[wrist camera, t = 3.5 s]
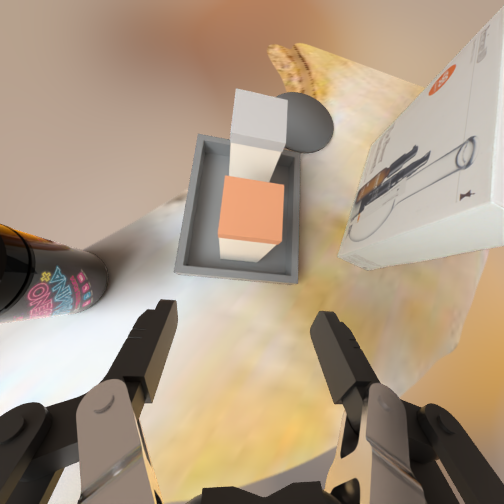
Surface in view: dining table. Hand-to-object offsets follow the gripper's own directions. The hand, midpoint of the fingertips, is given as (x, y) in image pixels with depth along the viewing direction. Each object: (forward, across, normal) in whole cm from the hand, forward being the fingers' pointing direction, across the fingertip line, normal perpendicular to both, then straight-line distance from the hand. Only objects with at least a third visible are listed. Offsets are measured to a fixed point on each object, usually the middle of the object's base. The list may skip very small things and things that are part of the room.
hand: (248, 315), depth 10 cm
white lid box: (+19, 0, -3) cm, 20 cm away
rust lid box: (+13, 0, +3) cm, 14 cm away
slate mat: (+28, -8, -12) cm, 32 cm away
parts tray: (+17, 0, 0) cm, 17 cm away
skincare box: (+20, -19, -3) cm, 28 cm away
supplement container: (+9, +17, +8) cm, 21 cm away
